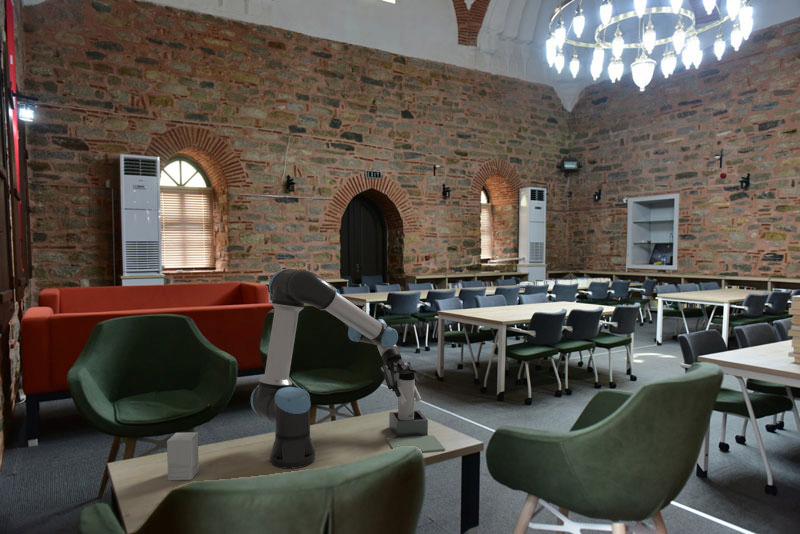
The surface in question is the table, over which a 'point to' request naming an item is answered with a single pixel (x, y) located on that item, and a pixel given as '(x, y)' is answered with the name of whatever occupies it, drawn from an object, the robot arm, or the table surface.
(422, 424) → the sleeve
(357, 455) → the table surface
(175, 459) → the supplement box
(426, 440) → the mat
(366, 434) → the table surface
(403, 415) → the travel mug
